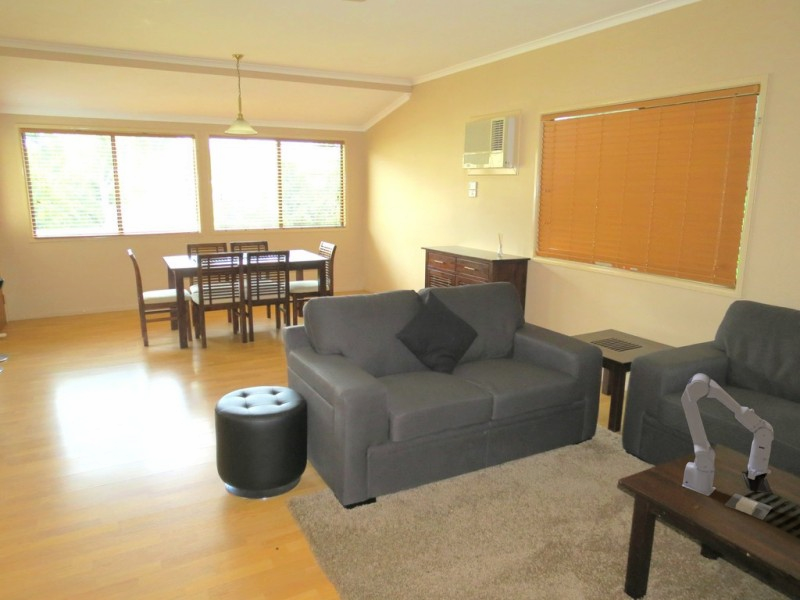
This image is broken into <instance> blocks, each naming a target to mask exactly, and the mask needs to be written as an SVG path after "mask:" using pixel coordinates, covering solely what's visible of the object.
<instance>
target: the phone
mask: <svg viewBox="0 0 800 600" xmlns="http://www.w3.org/2000/svg"><path fill="white" fill-rule="evenodd" d="M741 477H742V478H743V480H744V482H745V485H746V488H747V490H748V491H751V492H752V490H750V486H749V479H748V476H747V474H746V471H743V470H742V471H741ZM756 493H763V494H766V495H767V494H768V495H771V494H772V490H771V488H770V486H769V483H768V482H767V480H766V477H765V478H764V479H763V480H762V482H761V485H760V487H759V489H758V491H757V492H756Z"/></svg>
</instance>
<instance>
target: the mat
mask: <svg viewBox="0 0 800 600" xmlns="http://www.w3.org/2000/svg"><path fill="white" fill-rule="evenodd" d="M742 497H744V498H746V499H749V500H752V501H754V502H757V503H758V506H757V508H756V510H755V511H754V512H753V514H752V515H750V516H751V517H754V518H757V519H759V520H762V521H763V520H764V519H765V518H766V516H767V515H768V514H769V512H770V511H771V509H773V506H770V505H768V504H765V503H763V502H760V501H759V500H758V501H757V500H755V499H752V498H749V497H746V496H744V495H741V494H738V493H737V492H736V493H734V494H733V495H732V496H731V497H730V498H729V500H727V501H726V502H725V504H724V506H726V507H728V508H731V509H734V510H736V511H738V512H742V511H739V510H737V509H735V508H736V504H737V503H738V501H739V500H740V499H741V498H742ZM742 513H744V512H742ZM744 514H746V515H748V514H747V513H744Z"/></svg>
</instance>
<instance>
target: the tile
mask: <svg viewBox="0 0 800 600" xmlns="http://www.w3.org/2000/svg"><path fill="white" fill-rule="evenodd" d="M744 497H745V496H744ZM744 497H742V498H741V499H740V500H739V501H738V503H737V504H736V508H735V509H734V510H736V509H737V510H736V511H738V510H739V511H738V512H741V511H742V513H743V512H744V514H746V513H747V514H746V515H749V516H751V515H752V514H753V512H754V511H755V510H756V508H757V506H758V503H757V502H754V501H752V500H753V499H752V500H749V499H746V498H744Z"/></svg>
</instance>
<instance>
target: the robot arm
mask: <svg viewBox="0 0 800 600" xmlns="http://www.w3.org/2000/svg"><path fill="white" fill-rule="evenodd" d="M706 395H707V396H706ZM704 396H706V398H711V399H712V398H713V399H716V400H717V401H719V402H720V403H722V405H724V406H725V407H726V408H727V409H729V410H730V411H731V412H732V413H734V419H736V420H737V421H738V422H739V423H740V424H741V425H742V426H744V427H745V428H746V429H747V430H748V431H750V432H751V433H753V440H752V443H751V449H750V454H749V459H748V464H747V470H746V471H745V472H746V474H747V476H748V479H749V486H750V490H749V491H751V490H752V491H753V492H755V493H758V492H757V491H758V489H759V487H760V485H761V482H762V480H763V479H764V478H765V479H766V477H767V476H768V474H771V472H772V470H771V469H768V467H769V461H770V457H771V456H770V455H771V450H772V441H774V439H775V436H774V435H775V433H774V428H773V426H772V424H770V423H771V422H768V421H766V420H765V419H762V418H761V417H760V416H758V415H757V414H756V413H755V410H754V408H751V409H750V408H749V407H748V406H743V405H742V406H741V405H740V403H739V402H737V401H736V400H735V399H734V398H733V397H732V396H731V395H729V393H727V391H725V390H724V388H722V387H721V386H720V385H719V384H718V383H717V381H715V380H713V379H712V378H710V377H709V376H708V375H707V374H705V373H702V372H701V373H700V372H699V373H696V374H694V375H693V376H692V377H691V378H690V379H689V380H688V381H687V384H686V387H685V389H684V391H683V394H682V396H681V398H680V402H681V404H682V405H681V406H682V408H683V412H684V414H685V415H684V416H685V419H686V421H687V425H688V428H689V433H690V436H691V439H692V443H693V449H694V455H695V458H694V462H691V461H689V462H687V464H686V465H685V468H684V474H683V481H682V485H681V486H682V488H686V489H688V490H692V491H694V492H697V493H699V494H702V495H704V496H707V497H710V495H712V493H713V492H714V491H715V490H716V489H717V488H716V487H714V486H713V485H714V478H715V471H716V467H715V459H716V456H717V455H716V452H715V450H714V449H713V448H712V447H711V443H710V442H709V440H708V438H707V434H706V431H705V427H704V424H703V420H702V417H701V414H700V413H701V412H700V409H699V407H698V403H697V402H698V401H699V400H700V399H701V398H702V397H704ZM752 491H751V492H752Z"/></svg>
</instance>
